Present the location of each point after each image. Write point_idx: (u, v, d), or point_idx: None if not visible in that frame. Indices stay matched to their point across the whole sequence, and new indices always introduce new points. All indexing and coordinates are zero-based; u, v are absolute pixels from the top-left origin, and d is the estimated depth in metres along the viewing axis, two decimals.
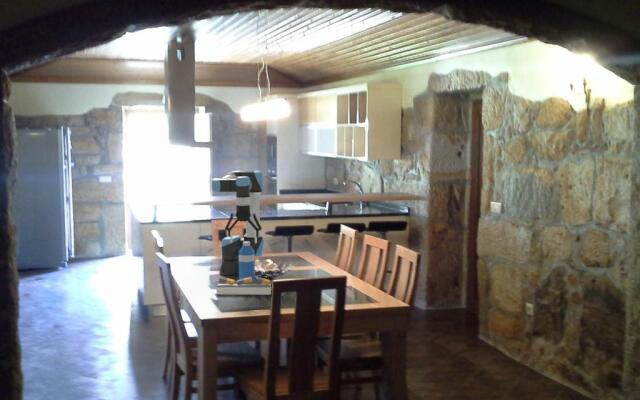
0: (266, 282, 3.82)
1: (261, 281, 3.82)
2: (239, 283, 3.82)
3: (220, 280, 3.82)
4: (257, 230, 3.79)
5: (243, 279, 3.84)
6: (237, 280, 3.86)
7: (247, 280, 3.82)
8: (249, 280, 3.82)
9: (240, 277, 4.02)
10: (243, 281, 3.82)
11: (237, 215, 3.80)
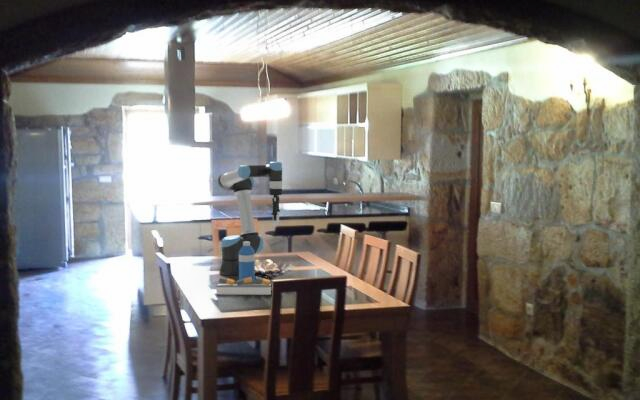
0: (266, 282, 3.82)
1: (261, 281, 3.82)
2: (239, 283, 3.82)
3: (220, 280, 3.82)
4: None
5: (243, 279, 3.84)
6: (237, 280, 3.86)
7: (247, 280, 3.82)
8: (249, 280, 3.82)
9: (240, 277, 4.02)
10: (243, 281, 3.82)
11: None
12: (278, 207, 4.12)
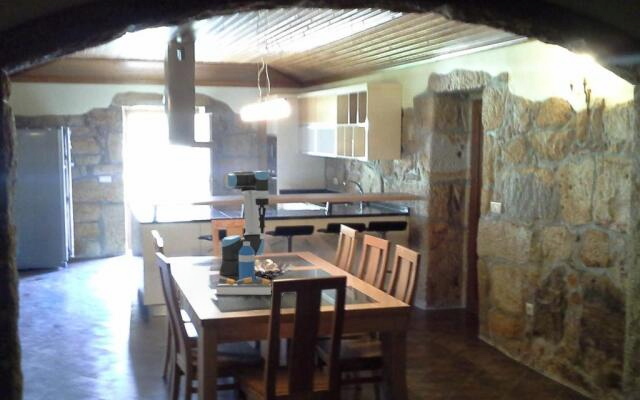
0: (266, 282, 3.82)
1: (261, 281, 3.82)
2: (239, 283, 3.82)
3: (220, 280, 3.82)
4: (258, 227, 3.94)
5: (243, 279, 3.84)
6: (237, 280, 3.86)
7: (247, 280, 3.82)
8: (249, 280, 3.82)
9: (240, 277, 4.02)
10: (243, 281, 3.82)
11: None
12: (264, 220, 3.96)
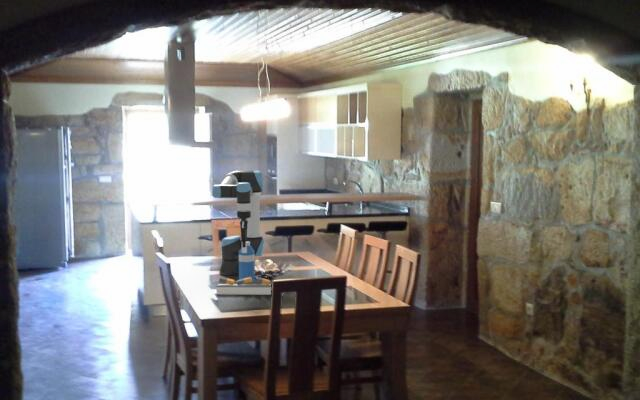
0: (266, 282, 3.82)
1: (261, 281, 3.82)
2: (239, 283, 3.82)
3: (220, 280, 3.82)
4: (240, 240, 3.80)
5: (243, 279, 3.84)
6: (237, 280, 3.86)
7: (247, 280, 3.82)
8: (249, 280, 3.82)
9: (240, 277, 4.02)
10: (243, 281, 3.82)
11: None
12: (246, 233, 3.82)
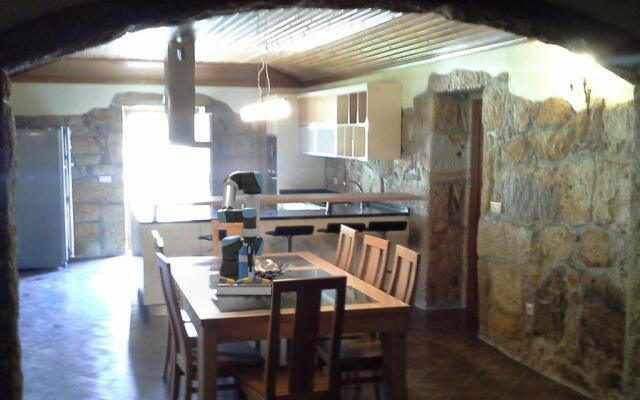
0: (266, 282, 3.82)
1: (261, 281, 3.82)
2: (239, 283, 3.82)
3: (220, 280, 3.82)
4: None
5: (243, 279, 3.84)
6: (237, 280, 3.86)
7: (247, 280, 3.82)
8: (249, 280, 3.82)
9: (240, 277, 4.02)
10: (243, 281, 3.82)
11: None
12: None
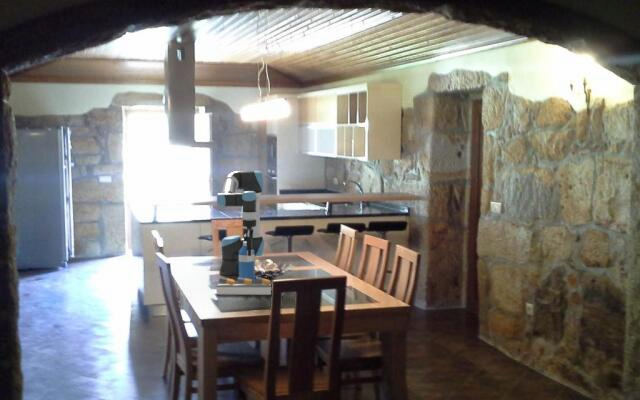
0: (266, 282, 3.82)
1: (261, 281, 3.82)
2: (239, 281, 3.82)
3: (220, 280, 3.82)
4: None
5: (244, 279, 3.84)
6: (238, 277, 3.86)
7: (247, 282, 3.82)
8: (249, 282, 3.82)
9: None
10: (243, 281, 3.82)
11: None
12: None
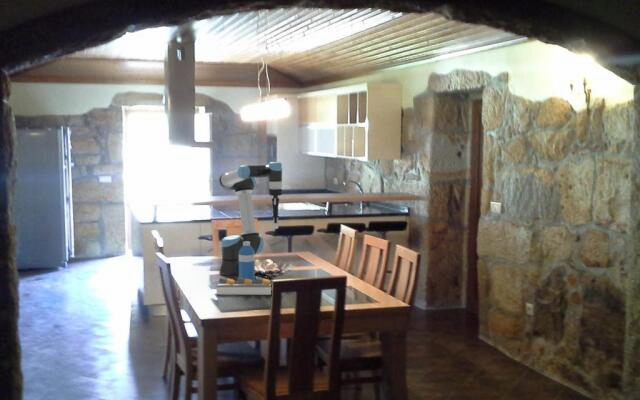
0: (266, 282, 3.82)
1: (261, 281, 3.82)
2: (239, 281, 3.82)
3: (220, 280, 3.82)
4: (272, 217, 4.04)
5: (244, 279, 3.84)
6: None
7: (248, 282, 3.82)
8: (249, 283, 3.82)
9: None
10: (244, 281, 3.82)
11: None
12: None
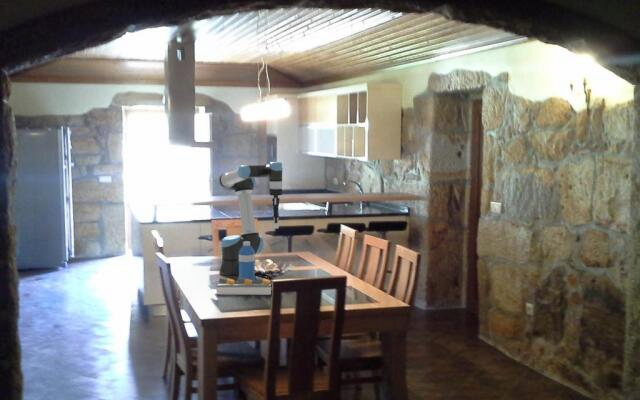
0: (266, 282, 3.82)
1: (261, 281, 3.82)
2: (239, 280, 3.82)
3: (220, 280, 3.82)
4: None
5: (244, 279, 3.84)
6: None
7: (248, 282, 3.82)
8: (249, 283, 3.82)
9: None
10: (244, 281, 3.82)
11: None
12: None
